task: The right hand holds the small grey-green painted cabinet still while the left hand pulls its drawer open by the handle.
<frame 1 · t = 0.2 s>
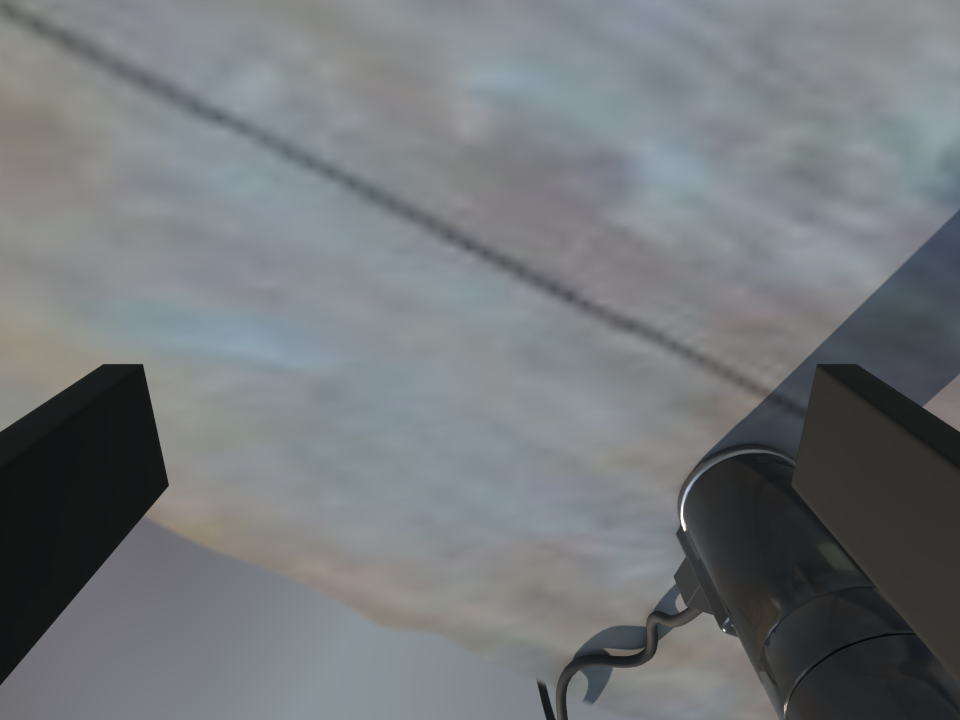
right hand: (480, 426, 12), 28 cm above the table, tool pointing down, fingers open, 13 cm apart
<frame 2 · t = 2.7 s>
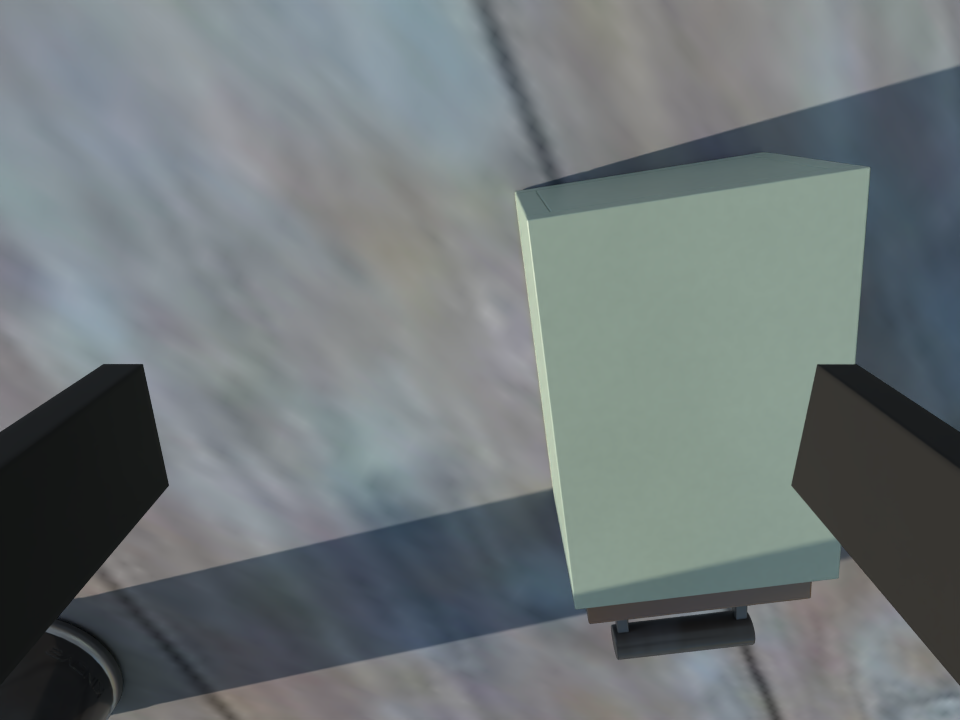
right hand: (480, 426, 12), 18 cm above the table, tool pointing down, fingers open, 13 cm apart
cabinet: (648, 346, 31), on the table
drawer: (675, 480, 29), point 4 cm above the table, slide at 0.7 cm
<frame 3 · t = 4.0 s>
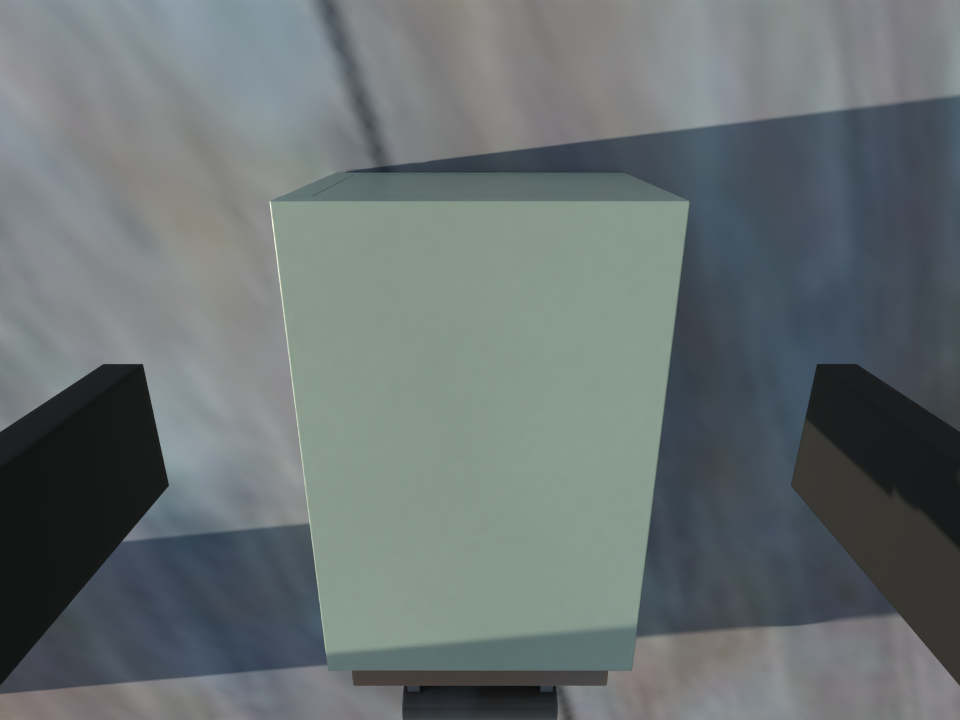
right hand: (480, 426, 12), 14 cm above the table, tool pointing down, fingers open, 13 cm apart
cabinet: (480, 373, 27), on the table
drawer: (480, 531, 25), point 4 cm above the table, slide at 0.7 cm
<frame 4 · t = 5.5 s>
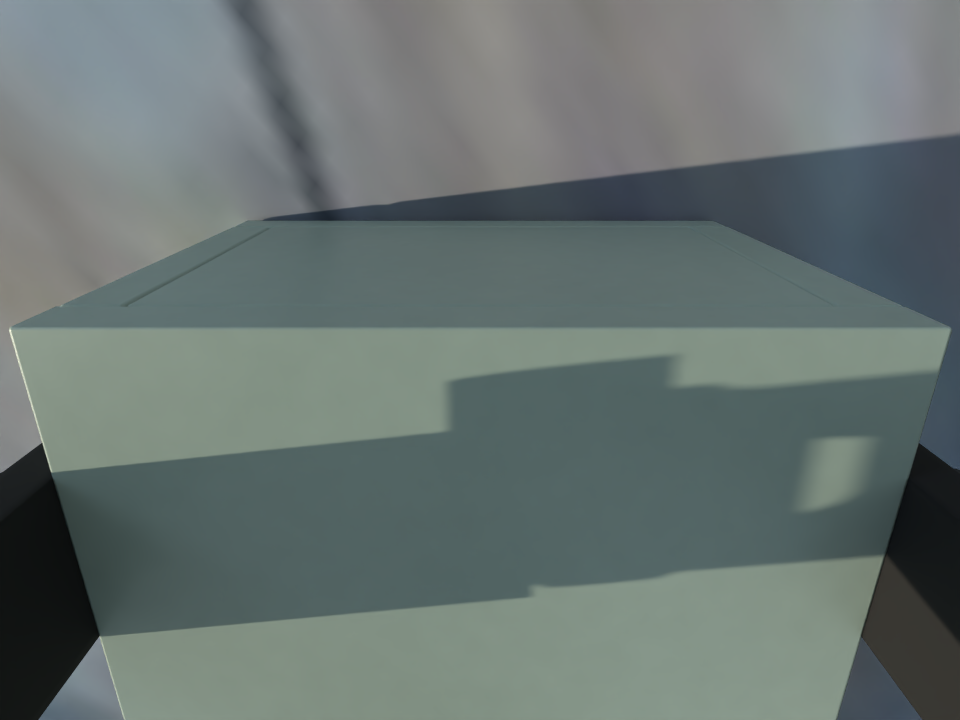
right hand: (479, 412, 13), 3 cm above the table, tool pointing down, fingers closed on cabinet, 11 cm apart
cabinet: (480, 516, 18), on the table, touching right hand
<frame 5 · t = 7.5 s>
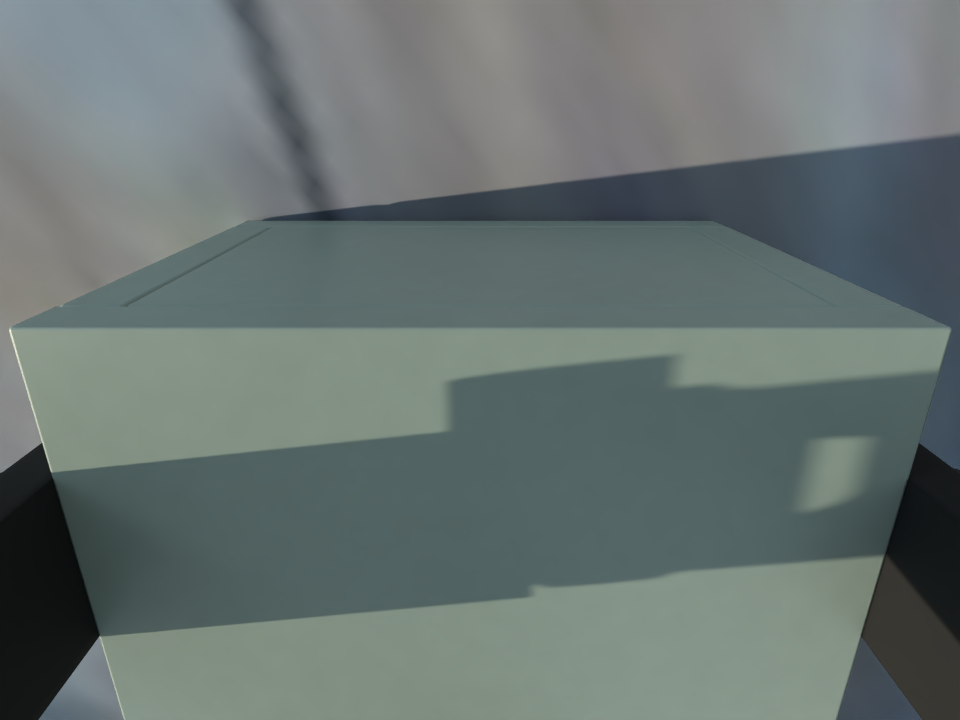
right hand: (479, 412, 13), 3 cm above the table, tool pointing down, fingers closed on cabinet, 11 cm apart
cabinet: (480, 516, 18), on the table, touching right hand
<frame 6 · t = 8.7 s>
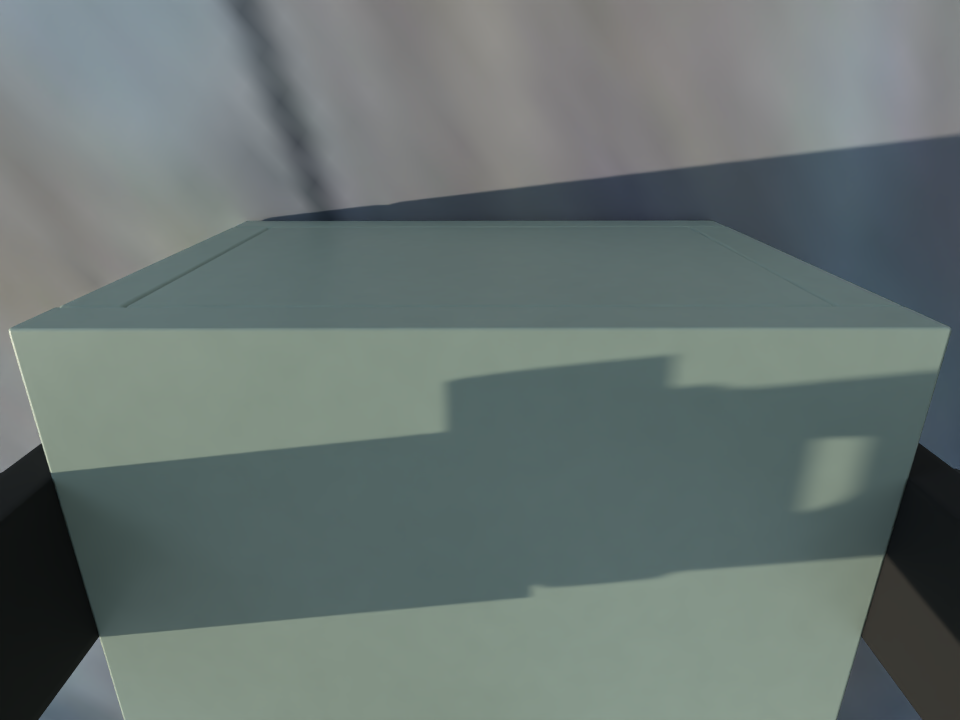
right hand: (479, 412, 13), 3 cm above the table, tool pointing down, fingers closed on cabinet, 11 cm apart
cabinet: (480, 516, 18), on the table, touching right hand
when the right hand's fingers open (3 cm above the table, at t = 10.7 s): cabinet stays where it is, on the table.
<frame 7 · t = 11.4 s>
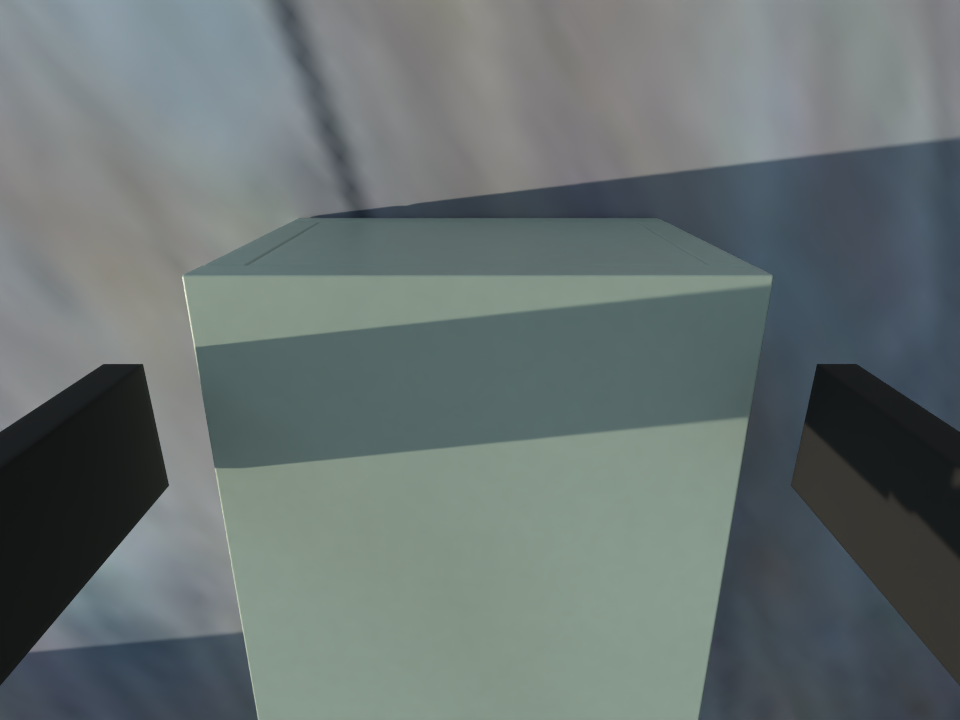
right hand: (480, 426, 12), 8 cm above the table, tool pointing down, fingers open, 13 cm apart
cabinet: (478, 458, 22), on the table
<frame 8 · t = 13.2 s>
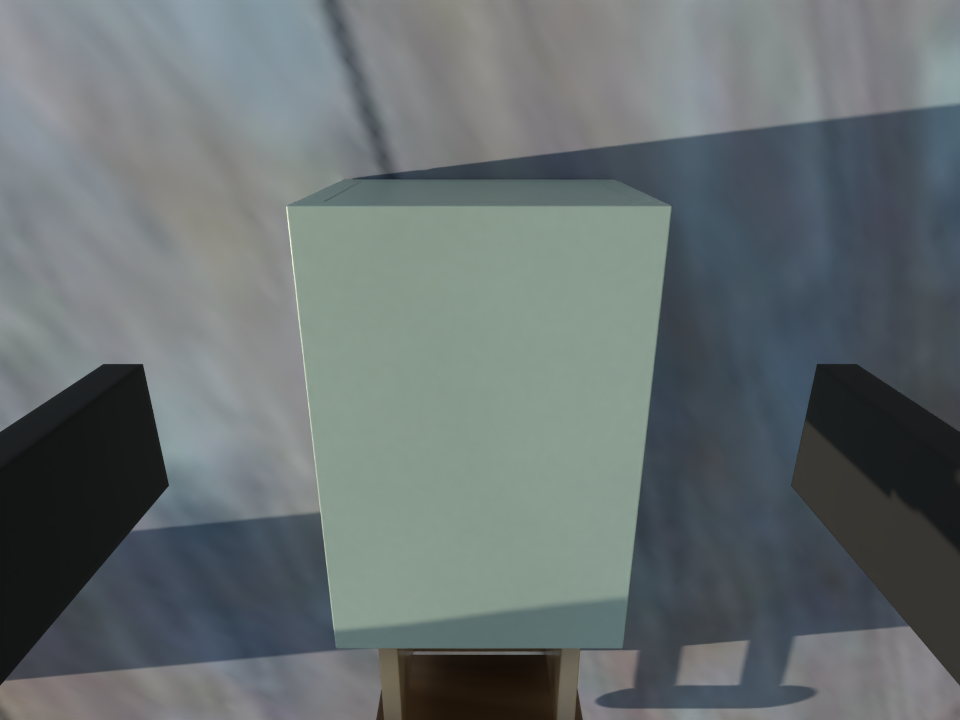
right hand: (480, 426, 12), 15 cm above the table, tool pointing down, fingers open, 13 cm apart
cabinet: (479, 369, 28), on the table
drawer: (479, 644, 29), point 4 cm above the table, slide at 7.8 cm
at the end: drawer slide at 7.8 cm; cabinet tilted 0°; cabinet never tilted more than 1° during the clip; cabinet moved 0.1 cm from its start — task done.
